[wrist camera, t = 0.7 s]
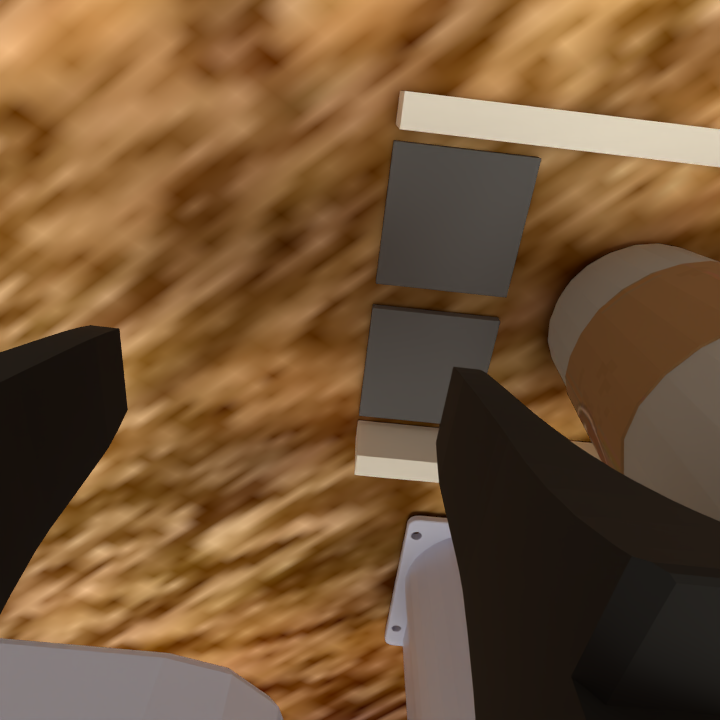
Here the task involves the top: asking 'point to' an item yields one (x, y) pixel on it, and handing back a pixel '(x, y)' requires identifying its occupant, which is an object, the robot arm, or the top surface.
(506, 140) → the lane box
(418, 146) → the trap pits
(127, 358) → the top surface
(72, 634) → the top surface
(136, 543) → the top surface
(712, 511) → the coffee cup
